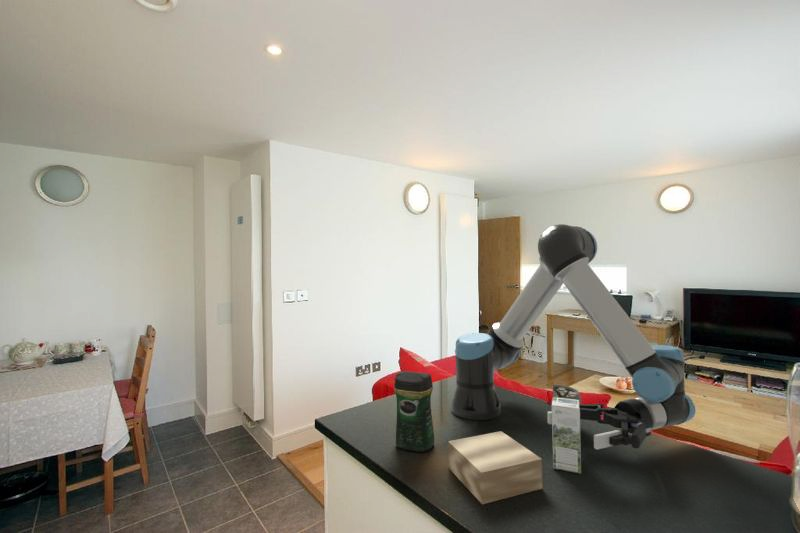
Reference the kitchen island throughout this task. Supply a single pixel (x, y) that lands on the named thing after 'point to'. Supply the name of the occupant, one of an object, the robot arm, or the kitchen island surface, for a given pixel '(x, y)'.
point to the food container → (566, 392)
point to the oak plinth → (494, 466)
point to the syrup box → (566, 435)
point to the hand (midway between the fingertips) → (569, 429)
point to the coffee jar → (414, 411)
